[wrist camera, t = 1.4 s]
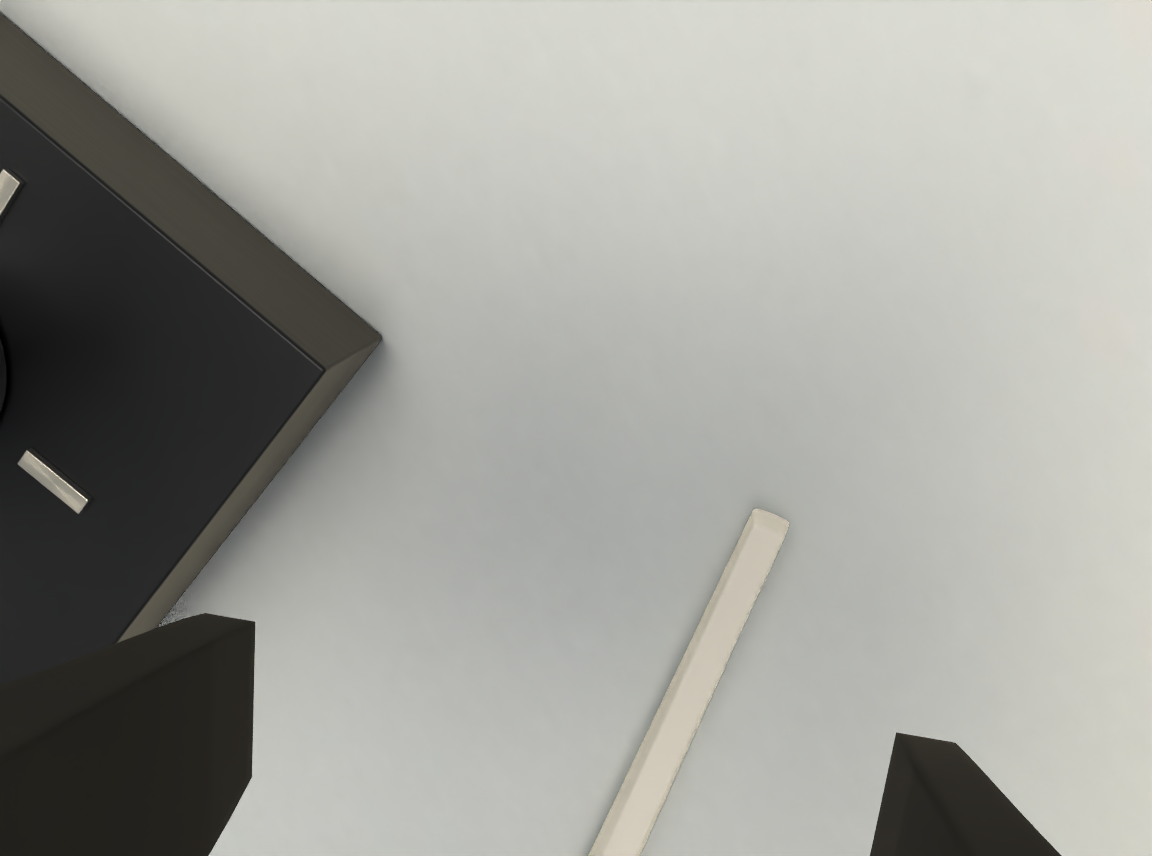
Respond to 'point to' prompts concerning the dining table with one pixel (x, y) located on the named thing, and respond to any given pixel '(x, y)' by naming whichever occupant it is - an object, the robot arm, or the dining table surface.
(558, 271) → the dining table surface
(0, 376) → the hob knob
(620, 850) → the fork
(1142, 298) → the dining table surface
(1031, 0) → the dining table surface
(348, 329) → the black knob base
